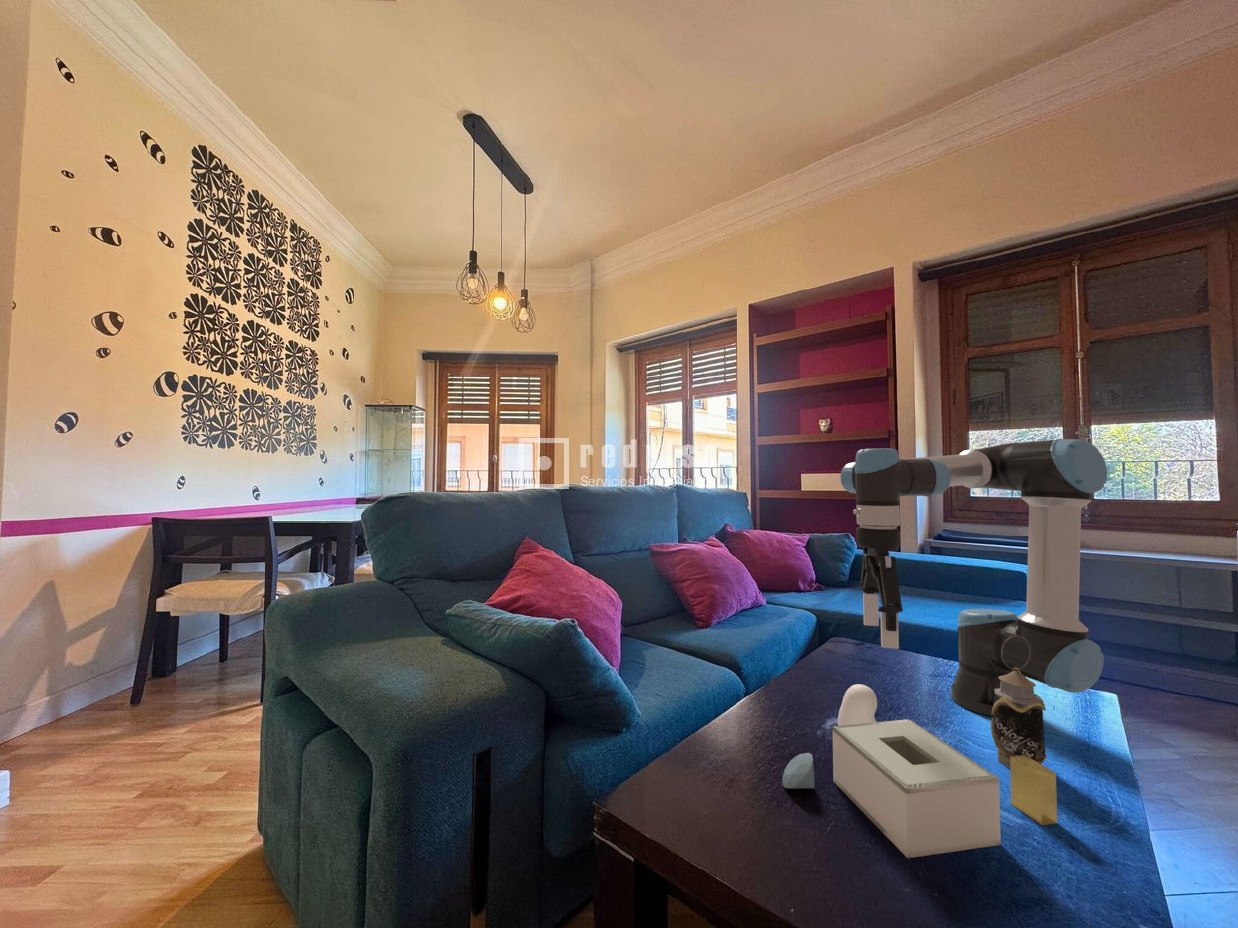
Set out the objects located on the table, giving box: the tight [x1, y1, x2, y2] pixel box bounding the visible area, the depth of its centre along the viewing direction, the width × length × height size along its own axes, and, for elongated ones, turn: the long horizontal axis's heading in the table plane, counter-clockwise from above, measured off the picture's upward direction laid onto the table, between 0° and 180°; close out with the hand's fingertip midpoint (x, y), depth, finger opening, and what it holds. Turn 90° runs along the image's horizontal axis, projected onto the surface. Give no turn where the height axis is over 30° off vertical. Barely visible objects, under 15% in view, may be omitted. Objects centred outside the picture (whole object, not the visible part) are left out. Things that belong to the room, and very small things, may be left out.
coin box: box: [832, 718, 1002, 859], centre depth 80 cm, size 16×18×10 cm
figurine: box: [837, 683, 878, 726], centre depth 101 cm, size 7×8×12 cm
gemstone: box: [782, 752, 815, 790], centre depth 86 cm, size 8×8×5 cm
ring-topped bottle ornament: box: [990, 635, 1048, 769], centre depth 93 cm, size 9×8×25 cm
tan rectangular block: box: [1009, 755, 1058, 826], centre depth 79 cm, size 3×5×8 cm, turn 9°
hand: (879, 635), depth 93 cm, fingers open, 13 cm apart
